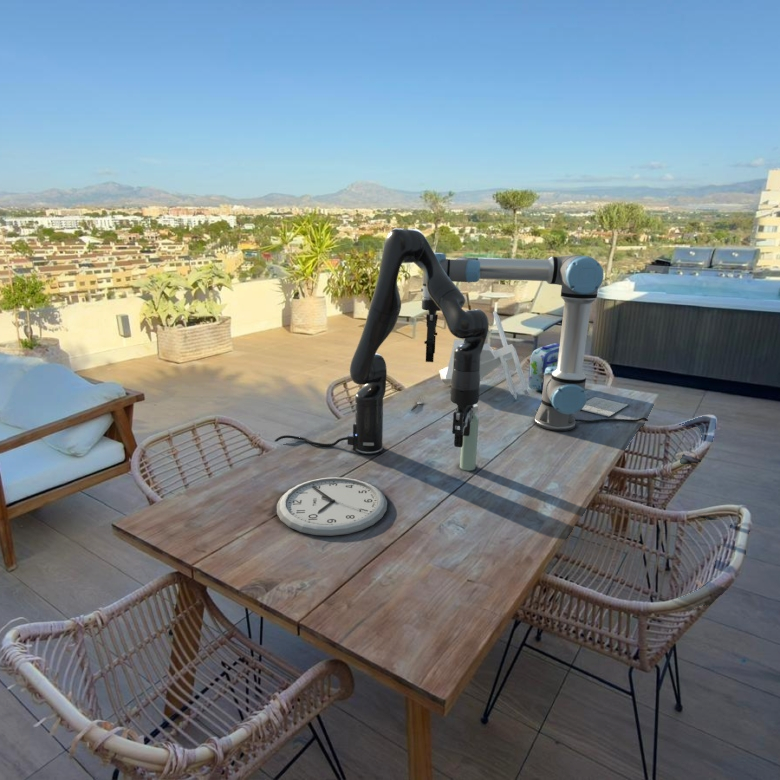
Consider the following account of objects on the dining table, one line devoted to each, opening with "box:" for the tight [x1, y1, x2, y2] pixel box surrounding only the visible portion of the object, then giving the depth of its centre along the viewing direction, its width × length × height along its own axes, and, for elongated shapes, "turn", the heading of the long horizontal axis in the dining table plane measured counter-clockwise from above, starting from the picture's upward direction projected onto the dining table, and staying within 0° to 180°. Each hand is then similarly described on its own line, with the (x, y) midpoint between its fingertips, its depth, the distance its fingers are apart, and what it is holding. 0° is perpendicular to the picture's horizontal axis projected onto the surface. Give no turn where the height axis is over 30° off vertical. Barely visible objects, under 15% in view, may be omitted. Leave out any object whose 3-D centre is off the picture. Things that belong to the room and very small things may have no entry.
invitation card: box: [580, 396, 629, 418], centre depth 226 cm, size 21×1×15 cm
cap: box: [473, 403, 479, 414], centre depth 161 cm, size 4×4×2 cm
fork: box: [410, 395, 425, 412], centre depth 222 cm, size 3×16×2 cm, turn 160°
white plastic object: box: [438, 310, 531, 400], centre depth 245 cm, size 37×45×31 cm
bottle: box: [459, 412, 480, 471], centre depth 164 cm, size 5×5×21 cm
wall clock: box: [276, 476, 388, 537], centre depth 142 cm, size 30×2×30 cm
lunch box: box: [528, 343, 560, 392], centre depth 249 cm, size 26×11×21 cm, turn 134°
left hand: (462, 440), depth 145 cm, fingers open, 8 cm apart
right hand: (430, 357), depth 190 cm, fingers open, 13 cm apart
